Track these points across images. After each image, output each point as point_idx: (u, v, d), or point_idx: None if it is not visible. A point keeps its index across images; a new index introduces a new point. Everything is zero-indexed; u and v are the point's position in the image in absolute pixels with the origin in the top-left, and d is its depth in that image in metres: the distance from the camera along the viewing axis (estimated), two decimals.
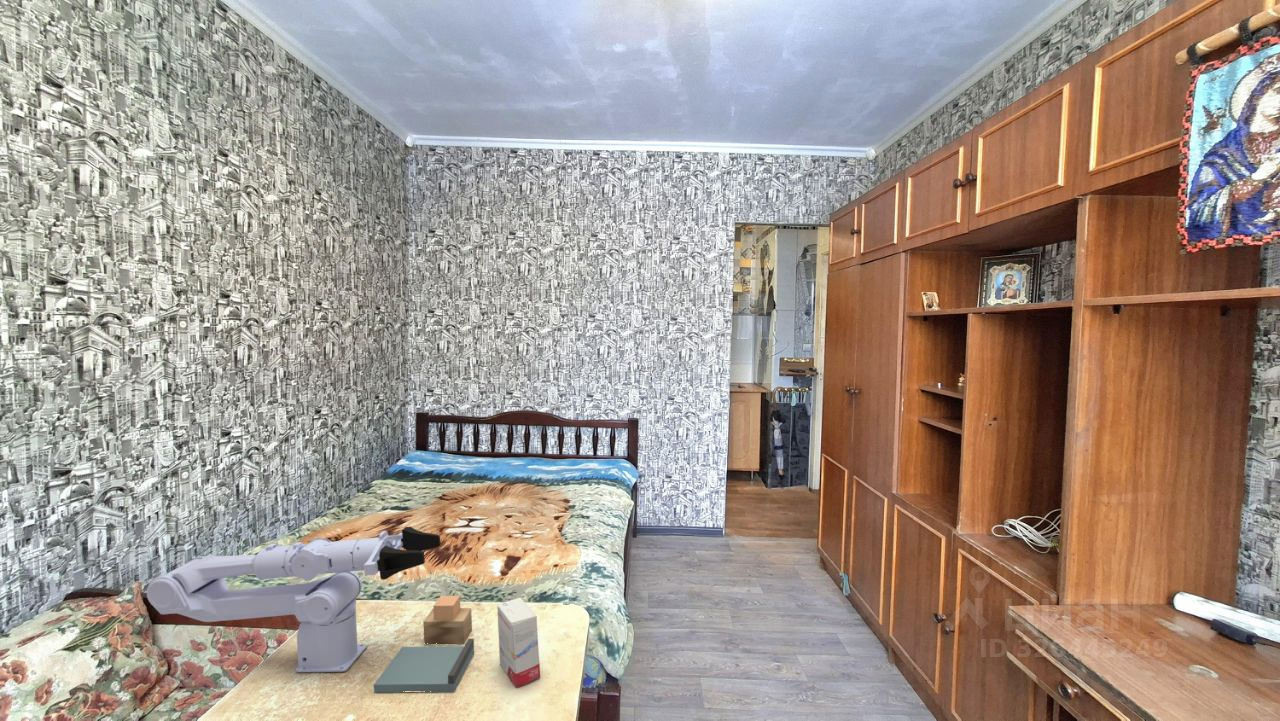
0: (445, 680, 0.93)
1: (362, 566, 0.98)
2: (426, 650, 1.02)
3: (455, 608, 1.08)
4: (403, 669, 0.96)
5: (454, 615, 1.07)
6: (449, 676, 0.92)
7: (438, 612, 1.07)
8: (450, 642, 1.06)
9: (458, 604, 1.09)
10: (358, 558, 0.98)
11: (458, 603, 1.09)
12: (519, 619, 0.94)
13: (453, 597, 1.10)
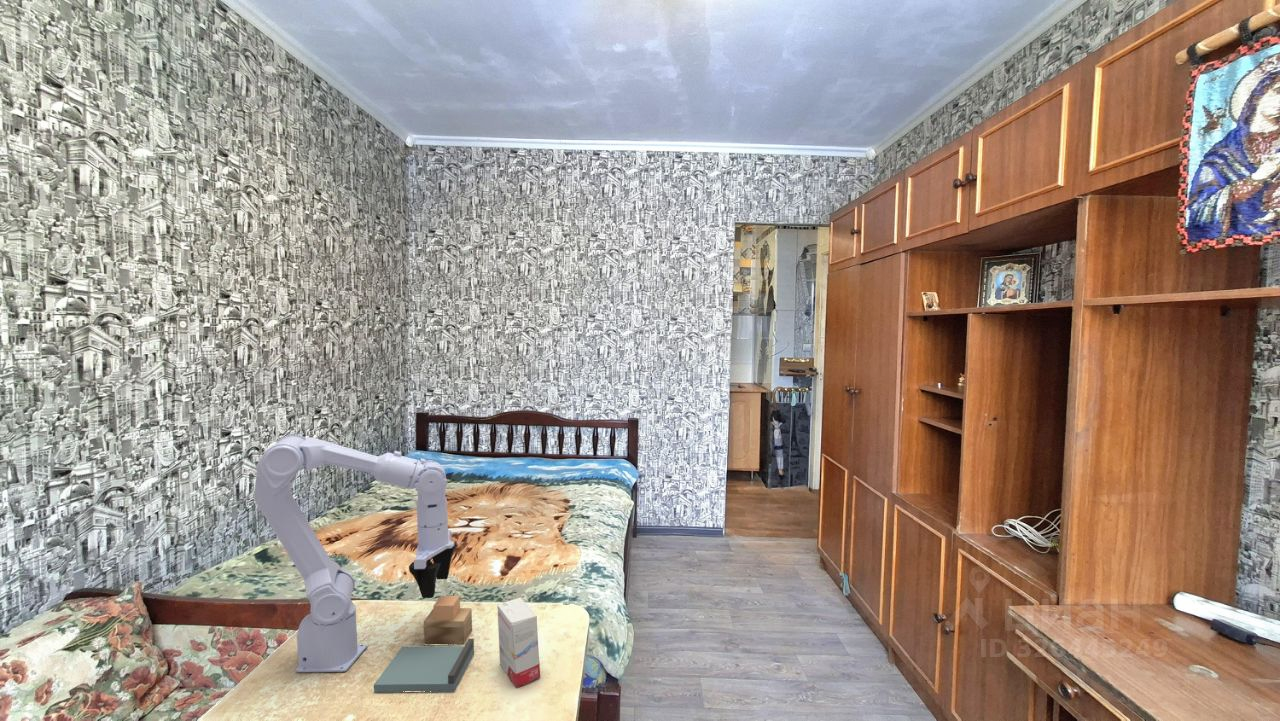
0: (445, 680, 0.93)
1: (421, 534, 1.05)
2: (426, 650, 1.02)
3: (455, 608, 1.08)
4: (403, 669, 0.96)
5: (454, 615, 1.07)
6: (449, 676, 0.92)
7: (438, 612, 1.06)
8: (450, 642, 1.06)
9: (458, 604, 1.09)
10: (429, 533, 1.05)
11: (458, 603, 1.09)
12: (519, 619, 0.94)
13: (453, 597, 1.10)
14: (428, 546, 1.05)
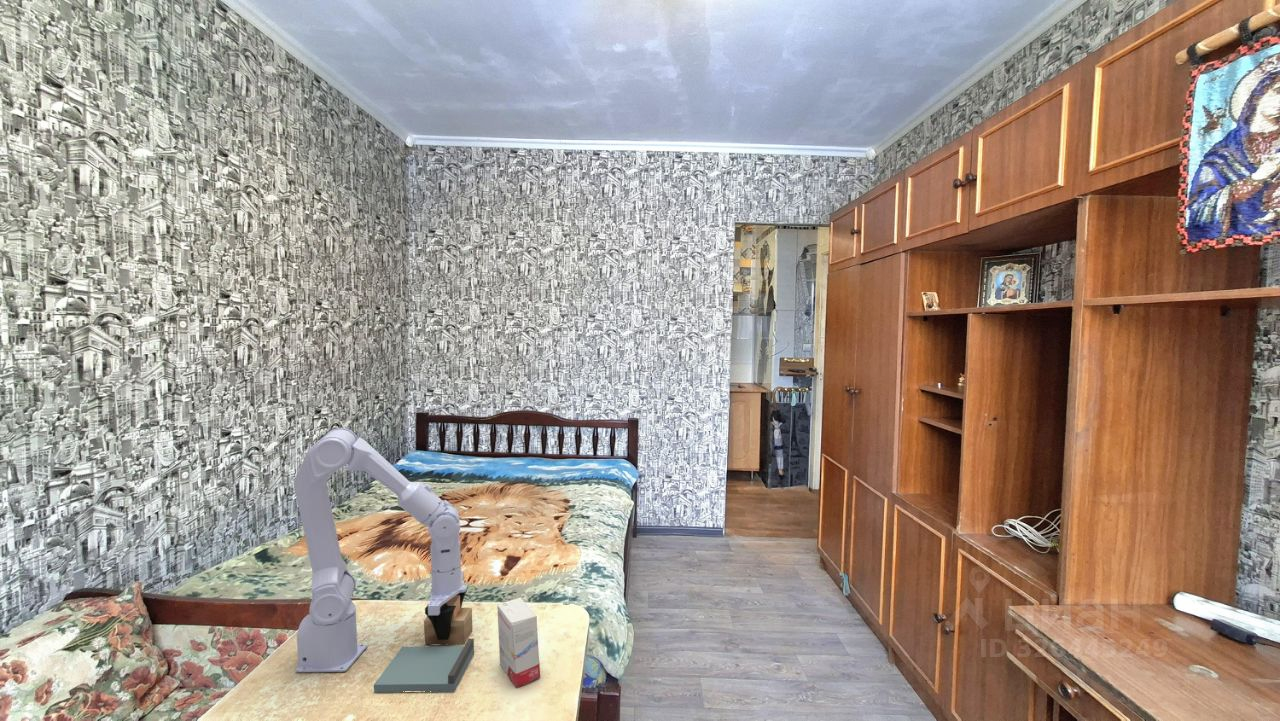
0: (445, 680, 0.93)
1: (435, 579, 1.06)
2: (426, 650, 1.02)
3: (455, 608, 1.07)
4: (403, 669, 0.96)
5: (454, 615, 1.07)
6: (449, 676, 0.92)
7: None
8: (451, 641, 1.06)
9: (458, 604, 1.09)
10: (443, 577, 1.05)
11: (458, 603, 1.09)
12: (519, 619, 0.94)
13: (453, 597, 1.09)
14: (442, 591, 1.05)
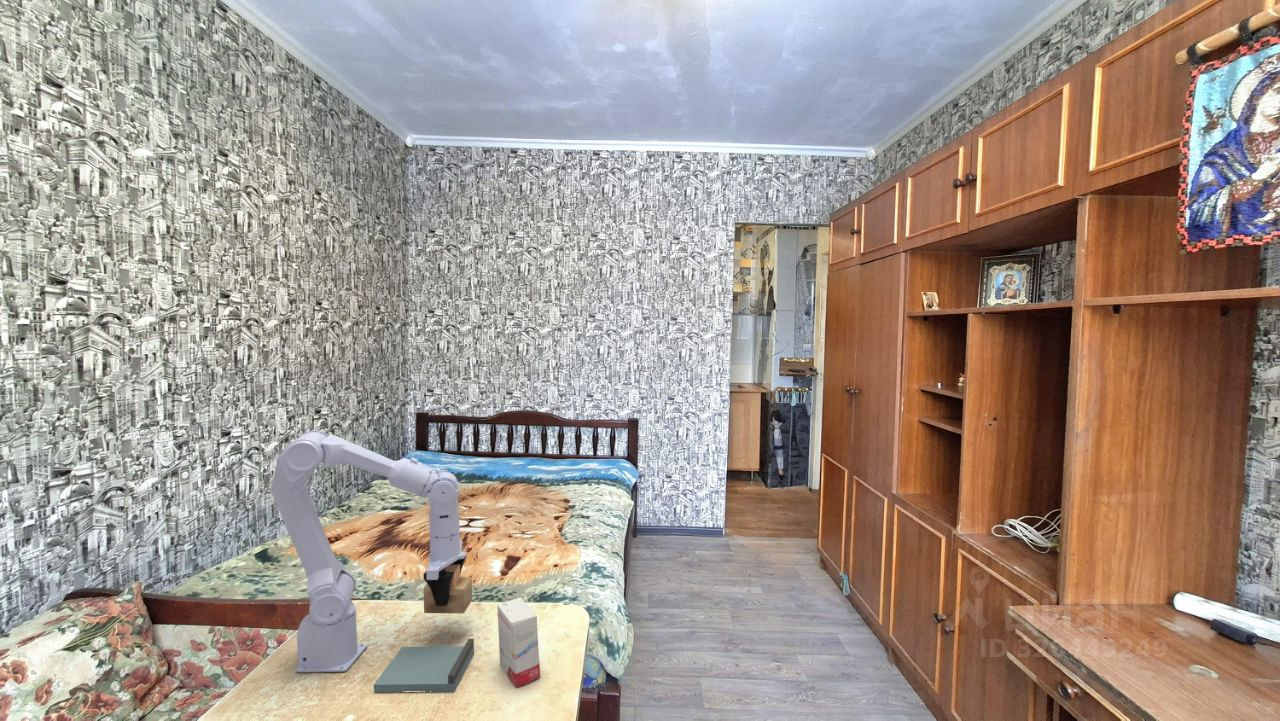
0: (445, 680, 0.93)
1: (434, 545, 1.05)
2: (426, 650, 1.02)
3: (455, 577, 1.07)
4: (403, 669, 0.96)
5: (454, 583, 1.06)
6: (449, 676, 0.92)
7: None
8: (450, 610, 1.06)
9: (458, 573, 1.09)
10: (441, 543, 1.05)
11: (458, 572, 1.09)
12: (519, 619, 0.94)
13: (453, 566, 1.09)
14: (440, 557, 1.05)
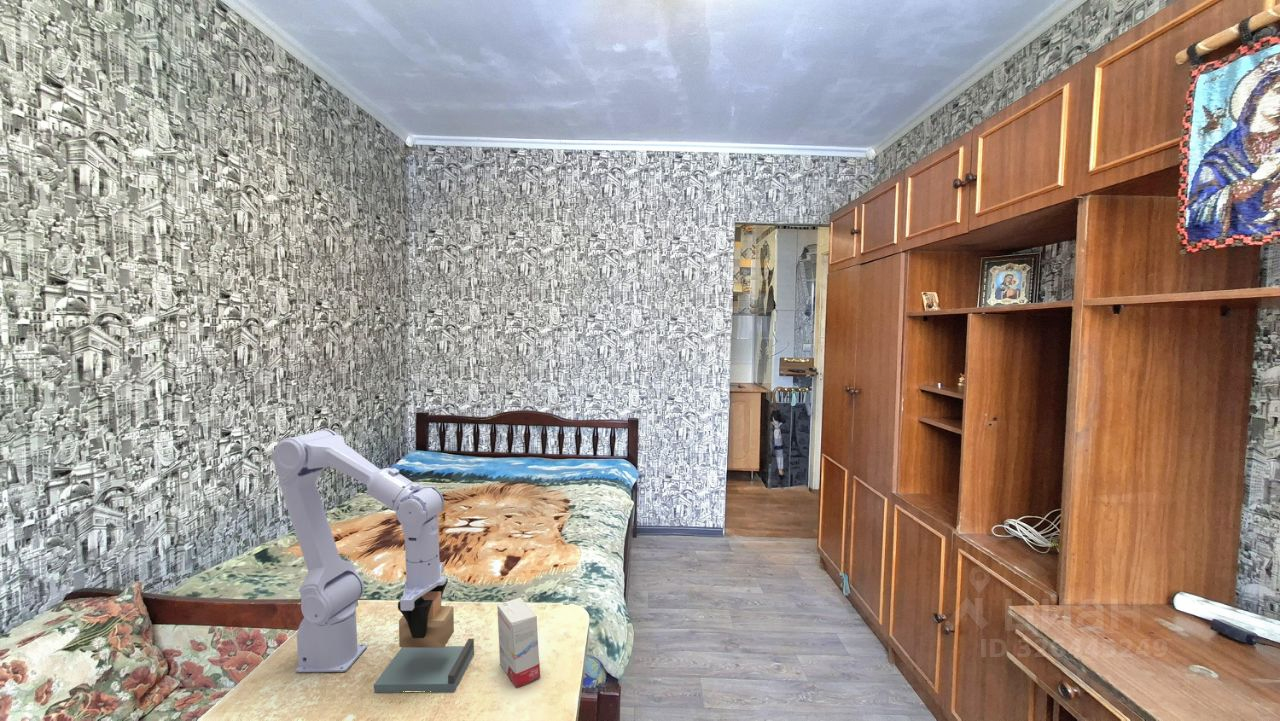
0: (445, 680, 0.93)
1: (409, 570, 0.94)
2: (426, 650, 1.02)
3: (435, 606, 0.96)
4: (403, 669, 0.96)
5: (434, 613, 0.96)
6: (449, 676, 0.92)
7: None
8: (428, 644, 0.95)
9: (439, 601, 0.98)
10: (418, 568, 0.94)
11: (439, 600, 0.98)
12: (519, 619, 0.94)
13: (433, 593, 0.98)
14: (417, 583, 0.94)
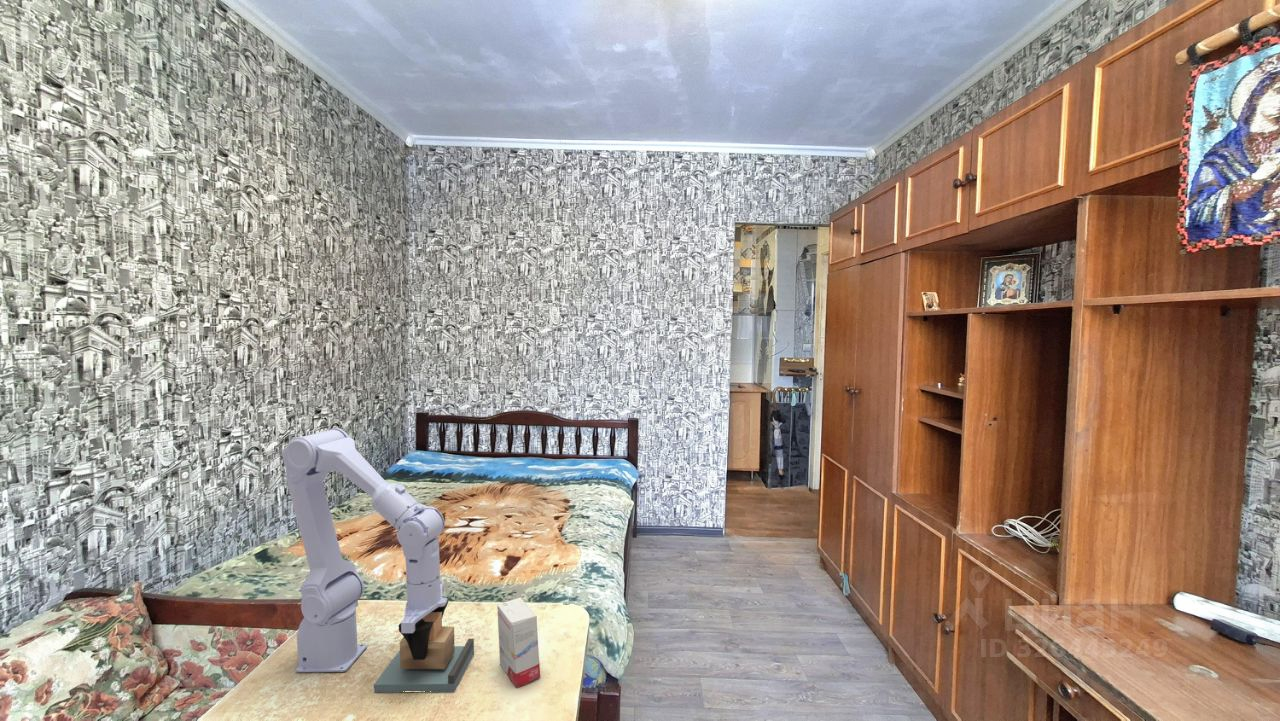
0: (445, 680, 0.93)
1: (410, 592, 0.94)
2: None
3: (436, 627, 0.97)
4: (403, 669, 0.96)
5: (435, 634, 0.96)
6: (449, 676, 0.92)
7: None
8: (429, 665, 0.95)
9: (439, 622, 0.99)
10: (419, 590, 0.94)
11: (439, 621, 0.99)
12: (519, 619, 0.94)
13: (434, 614, 0.99)
14: (418, 605, 0.94)
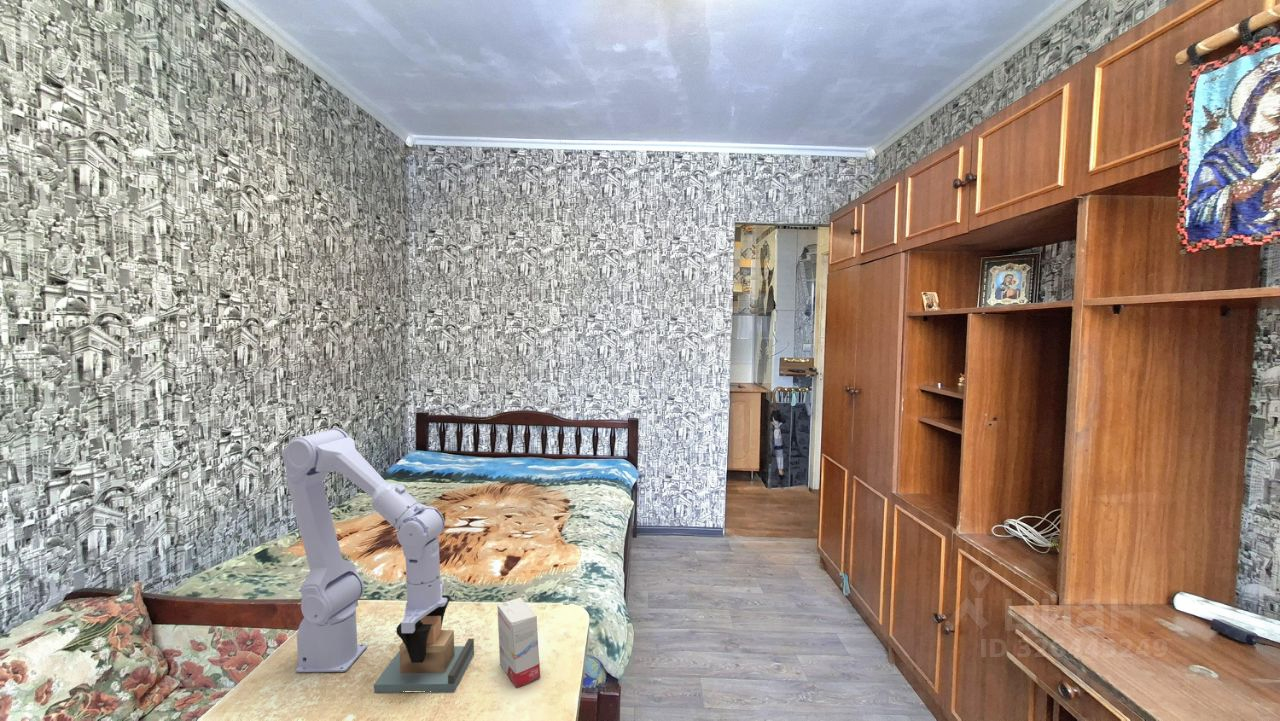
0: (445, 680, 0.93)
1: (410, 592, 0.94)
2: None
3: (435, 631, 0.97)
4: None
5: (434, 638, 0.96)
6: (449, 676, 0.92)
7: None
8: (429, 669, 0.95)
9: (439, 625, 0.99)
10: (419, 590, 0.94)
11: (439, 624, 0.99)
12: (519, 619, 0.94)
13: (433, 618, 0.99)
14: (418, 605, 0.94)
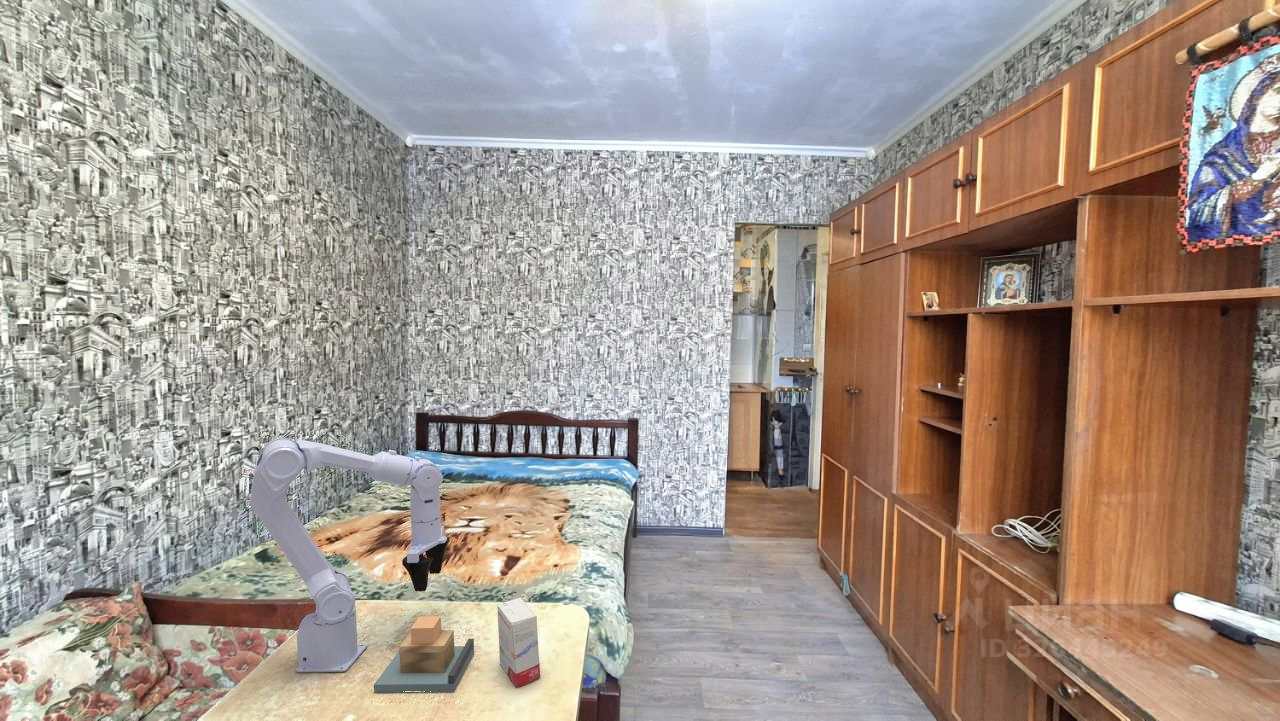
0: (445, 680, 0.93)
1: (415, 529, 1.08)
2: None
3: (435, 631, 0.97)
4: None
5: (434, 638, 0.96)
6: (449, 676, 0.92)
7: (416, 635, 0.96)
8: (429, 669, 0.95)
9: (439, 625, 0.99)
10: (422, 528, 1.08)
11: (439, 624, 0.99)
12: (519, 619, 0.94)
13: (433, 618, 0.99)
14: (421, 541, 1.08)
